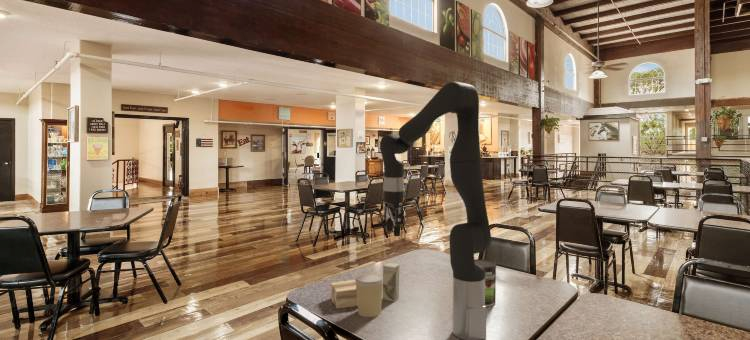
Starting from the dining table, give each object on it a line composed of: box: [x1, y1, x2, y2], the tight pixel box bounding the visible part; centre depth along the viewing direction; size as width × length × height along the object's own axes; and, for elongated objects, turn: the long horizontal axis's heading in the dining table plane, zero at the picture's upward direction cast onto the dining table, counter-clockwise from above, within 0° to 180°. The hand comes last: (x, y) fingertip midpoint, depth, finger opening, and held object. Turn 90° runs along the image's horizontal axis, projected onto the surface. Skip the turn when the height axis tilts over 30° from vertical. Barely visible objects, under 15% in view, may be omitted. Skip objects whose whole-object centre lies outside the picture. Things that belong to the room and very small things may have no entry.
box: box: [382, 262, 401, 303], centre depth 140 cm, size 5×4×13 cm
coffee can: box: [474, 259, 497, 308], centre depth 137 cm, size 10×10×14 cm
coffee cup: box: [354, 273, 383, 318], centre depth 128 cm, size 9×9×12 cm
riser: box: [330, 279, 358, 310], centre depth 138 cm, size 10×10×6 cm
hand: (393, 233), depth 139 cm, fingers open, 8 cm apart
